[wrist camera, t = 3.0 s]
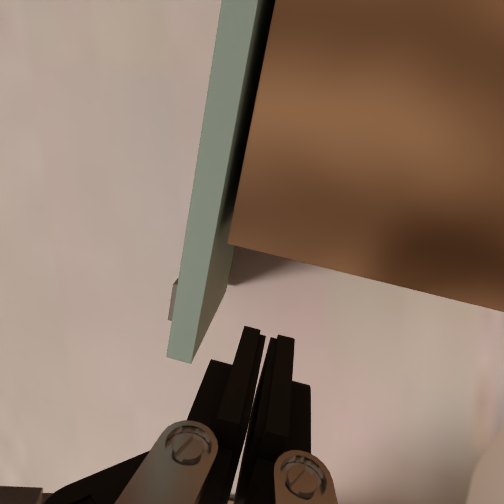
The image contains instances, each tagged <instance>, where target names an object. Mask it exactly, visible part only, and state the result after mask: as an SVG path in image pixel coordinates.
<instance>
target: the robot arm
mask: <svg viewBox="0 0 504 504" xmlns="http://www.w3.org/2000/svg"><path fill="white" fill-rule="evenodd" d="M265 338H266V336H264V335H260V330H259V329H255V328H251V327H247V326H244V329H243V333H242V336H241V339H240V343H239V346H238V349H237V352H236V356H235V359H234V362H233V365H231V364H227V363H223V362H220V361H216V360H212V359H211V361H210V363H209V365H208V368H207V370H206V373H205V375H204V378H203V380H202V383H201V385H200V388H199V390H198V393H197V396H196V398H195V401H194V403H193V406H192V408H191V411H190V413H189V416H188V418H187V421H180V422H176V423H174V424H172V425H170V426H168V427H167V428H166V429H165V430H164V431H163V433H162V434H161V435H160V437H159V438H158V440H157V441H156V443H155V444H154V446H153V447H152V449H151V450H150V451H148V452H145V453H143V454H141V455H138V456H136V457H133V458H131V459H129V460H126V461H124V462H122V463H119V464H117V465H114V466H112V467H110V468H107V469H105V470H102V471H100V472H98V473H95V474H93V475H91V476H88V477H86V478H83V479H81V480H79V481H76V482H74V483H71V484H69V485H67V486H65V487H63V488H61V489H59V490H58V491H56V492H55V493H43V488H35V487H11V486H0V504H338V503H337V498H336V494H335V489H334V484H333V480H332V477H331V475H330V472H329V470H328V469H327V468H326V466H325V465H324V464H323V463H322V462H321V461H320V460H319V459H318V458H317V457H315V456H313V455H312V454H311V389H310V385H306V384H302V383H299V382H295V381H292V373H293V358H294V342H295V339H294V338H290V337H286V336H282V335H278V336H277V339H276V338H272V337H271V338H270V342H269V346H268V349H267V353H266V357H265V361H264V364H263V368H262V372H261V376H260V379H259V383H258V387H257V391H256V394H255V389H256V384H257V379H258V374H259V369H260V363H261V358H262V353H263V348H264V343H265ZM254 394H255V398H254ZM253 399H254V402H253ZM252 405H253V406H252ZM251 410H252V411H251ZM250 415H251V416H250ZM249 420H250V421H249ZM248 424H249V426H248ZM247 429H248V431H247ZM246 433H247V436H246ZM245 437H246V442H245V447H244V452H243V457H242V462H241V467H240V472H239V478H238V483H237V488H236V493H235V498H234V501H231V500H229V496H230V492H231V489H232V485H233V481H234V478H235V474H236V470H237V466H238V463H239V459H240V455H241V452H242V448H243V444H244V440H245Z"/></svg>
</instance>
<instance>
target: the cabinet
mask: <svg viewBox="0 0 504 504" xmlns="http://www.w3.org/2000/svg"><path fill="white" fill-rule="evenodd" d="M227 244H231V245H235V246H239V247H243V248H247V249H251V250H255V251H259V252H263V253H267V254H271V255H275V256H279V257H284V258H288V259H292V260H296V261H300V262H304V263H308V264H312V265H316V266H320V267H324V268H328V269H332V270H336V271H340V272H344V273H348V274H352V275H356V276H360V277H364V278H369V279H373V280H377V281H381V282H385V283H389V284H393V285H397V286H401V287H405V288H409V289H413V290H417V291H421V292H425V293H429V294H433V295H437V296H441V297H445V298H449V299H454V300H458V301H462V302H466V303H470V304H474V305H478V306H482V307H486V308H490V309H494V310H498V311H502V312H504V0H275V5H274V10H273V15H272V20H271V25H270V30H269V35H268V40H267V45H266V50H265V56H264V61H263V66H262V71H261V76H260V81H259V86H258V91H257V96H256V101H255V106H254V111H253V116H252V121H251V126H250V131H249V136H248V141H247V146H246V151H245V156H244V161H243V166H242V172H241V177H240V182H239V187H238V192H237V197H236V202H235V207H234V212H233V217H232V222H231V227H230V232H229V237H228V242H227Z"/></svg>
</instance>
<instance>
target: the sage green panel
mask: <svg viewBox="0 0 504 504" xmlns="http://www.w3.org/2000/svg"><path fill="white" fill-rule="evenodd" d="M274 5H275V0H222V3H221V9H220V16H219V22H218V28H217V35H216V41H215V48H214V54H213V61H212V67H211V73H210V80H209V86H208V93H207V99H206V105H205V112H204V118H203V125H202V131H201V138H200V144H199V150H198V157H197V163H196V170H195V176H194V182H193V189H192V195H191V202H190V208H189V215H188V221H187V227H186V234H185V240H184V247H183V253H182V259H181V266H180V272H179V278H178V279H177V280H176V281H175V283H174V284H173V289H172V296H171V302H170V309H169V316H168V320H171V321H172V324H171V330H170V336H169V343H168V349H167V356H166V357H168V358H172V359H175V360H179V361H183V362H186V363H190V364H191V363H192V361H193V359H194V356H195V354H196V352H197V350H198V348H199V346H200V344H201V342H202V340H203V338H204V336H205V334H206V332H207V330H208V327H209V325H210V323H211V321H212V319H213V317H214V315H215V313H216V311H217V309H218V307H219V305H220V303H221V300H222V298H223V296H224V294H225V292H226V288H227V283H228V278H229V274H230V269H231V264H232V259H233V254H234V249H235V245H231V244H227V242H228V237H229V232H230V227H231V222H232V217H233V212H234V207H235V202H236V197H237V192H238V187H239V182H240V177H241V172H242V166H243V161H244V156H245V151H246V146H247V141H248V136H249V131H250V126H251V121H252V116H253V111H254V106H255V101H256V96H257V91H258V86H259V81H260V76H261V71H262V66H263V61H264V56H265V50H266V45H267V40H268V35H269V30H270V25H271V20H272V15H273V10H274Z"/></svg>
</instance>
